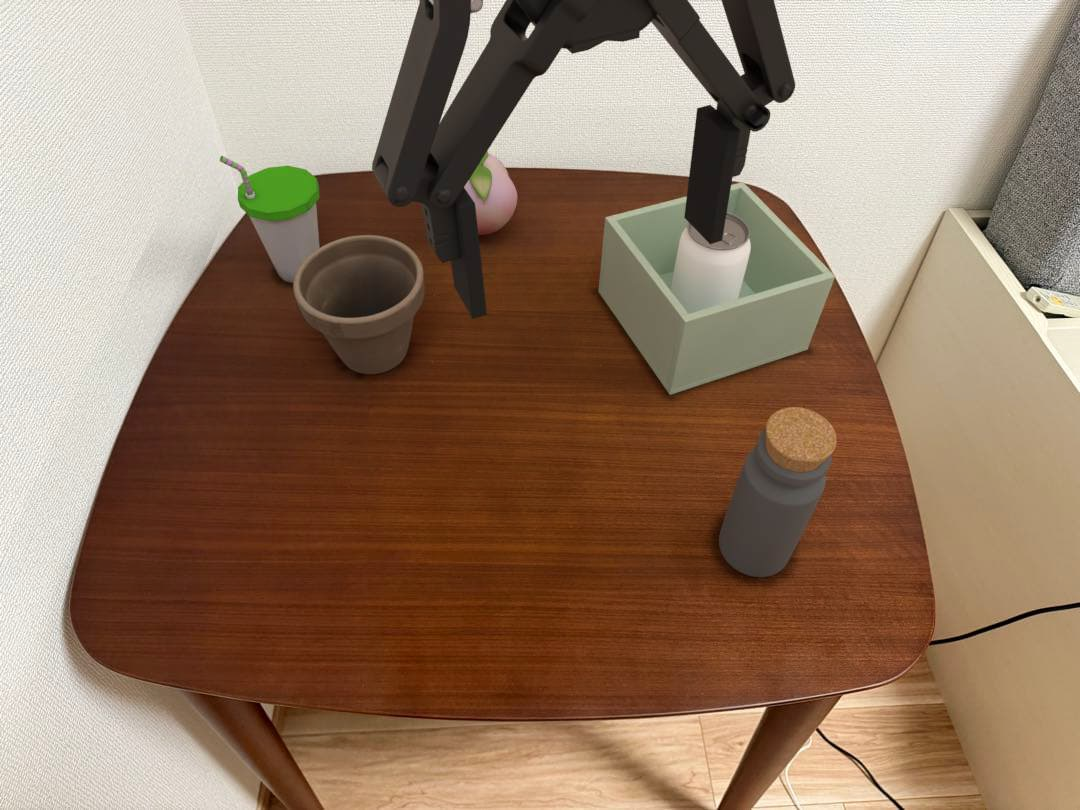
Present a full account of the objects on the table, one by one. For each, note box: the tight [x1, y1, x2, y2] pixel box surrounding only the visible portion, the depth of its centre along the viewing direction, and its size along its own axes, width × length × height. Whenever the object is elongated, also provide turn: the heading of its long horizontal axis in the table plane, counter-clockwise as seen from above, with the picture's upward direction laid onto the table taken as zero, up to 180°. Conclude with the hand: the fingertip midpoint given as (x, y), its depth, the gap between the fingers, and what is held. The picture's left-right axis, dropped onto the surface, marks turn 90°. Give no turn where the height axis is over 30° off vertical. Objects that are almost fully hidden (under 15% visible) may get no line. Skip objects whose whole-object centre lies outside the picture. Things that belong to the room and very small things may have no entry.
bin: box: [597, 181, 836, 396], centre depth 80 cm, size 16×16×10 cm
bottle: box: [718, 406, 837, 578], centre depth 61 cm, size 6×6×15 cm
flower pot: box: [292, 234, 426, 375], centre depth 76 cm, size 12×11×10 cm
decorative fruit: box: [464, 150, 518, 236], centre depth 89 cm, size 9×8×10 cm
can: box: [670, 212, 751, 314], centre depth 78 cm, size 6×6×12 cm
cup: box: [219, 155, 321, 284], centre depth 82 cm, size 8×8×15 cm
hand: (591, 264), depth 43 cm, fingers open, 13 cm apart
